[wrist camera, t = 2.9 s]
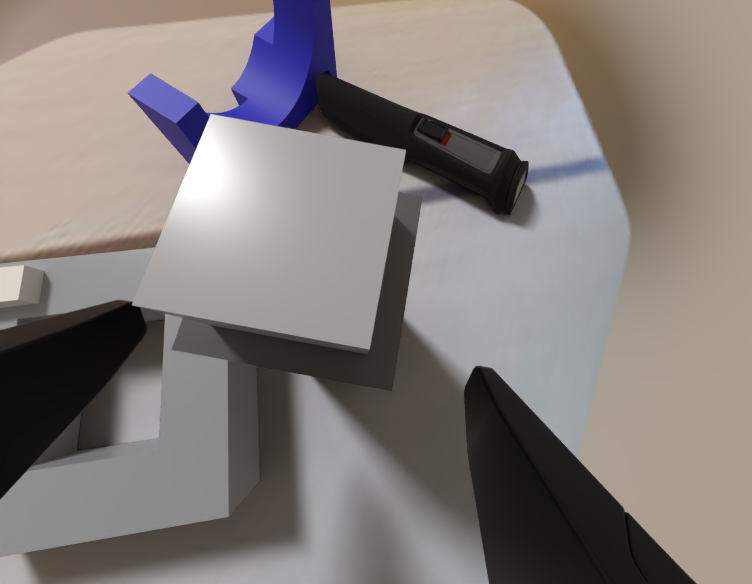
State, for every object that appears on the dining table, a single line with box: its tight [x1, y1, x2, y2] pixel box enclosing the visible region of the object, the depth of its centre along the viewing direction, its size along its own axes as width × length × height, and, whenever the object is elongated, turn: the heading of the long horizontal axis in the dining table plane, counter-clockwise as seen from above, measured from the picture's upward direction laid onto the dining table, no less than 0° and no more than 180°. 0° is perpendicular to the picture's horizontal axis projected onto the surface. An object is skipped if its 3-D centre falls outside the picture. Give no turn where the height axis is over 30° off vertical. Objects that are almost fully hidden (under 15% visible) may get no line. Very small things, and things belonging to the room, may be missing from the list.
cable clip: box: [128, 0, 337, 164], centre depth 17 cm, size 12×4×6 cm, turn 147°
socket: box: [0, 248, 260, 557], centre depth 13 cm, size 12×12×4 cm
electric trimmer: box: [316, 73, 529, 215], centre depth 19 cm, size 4×16×3 cm, turn 62°
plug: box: [132, 114, 422, 391], centre depth 10 cm, size 4×4×13 cm
